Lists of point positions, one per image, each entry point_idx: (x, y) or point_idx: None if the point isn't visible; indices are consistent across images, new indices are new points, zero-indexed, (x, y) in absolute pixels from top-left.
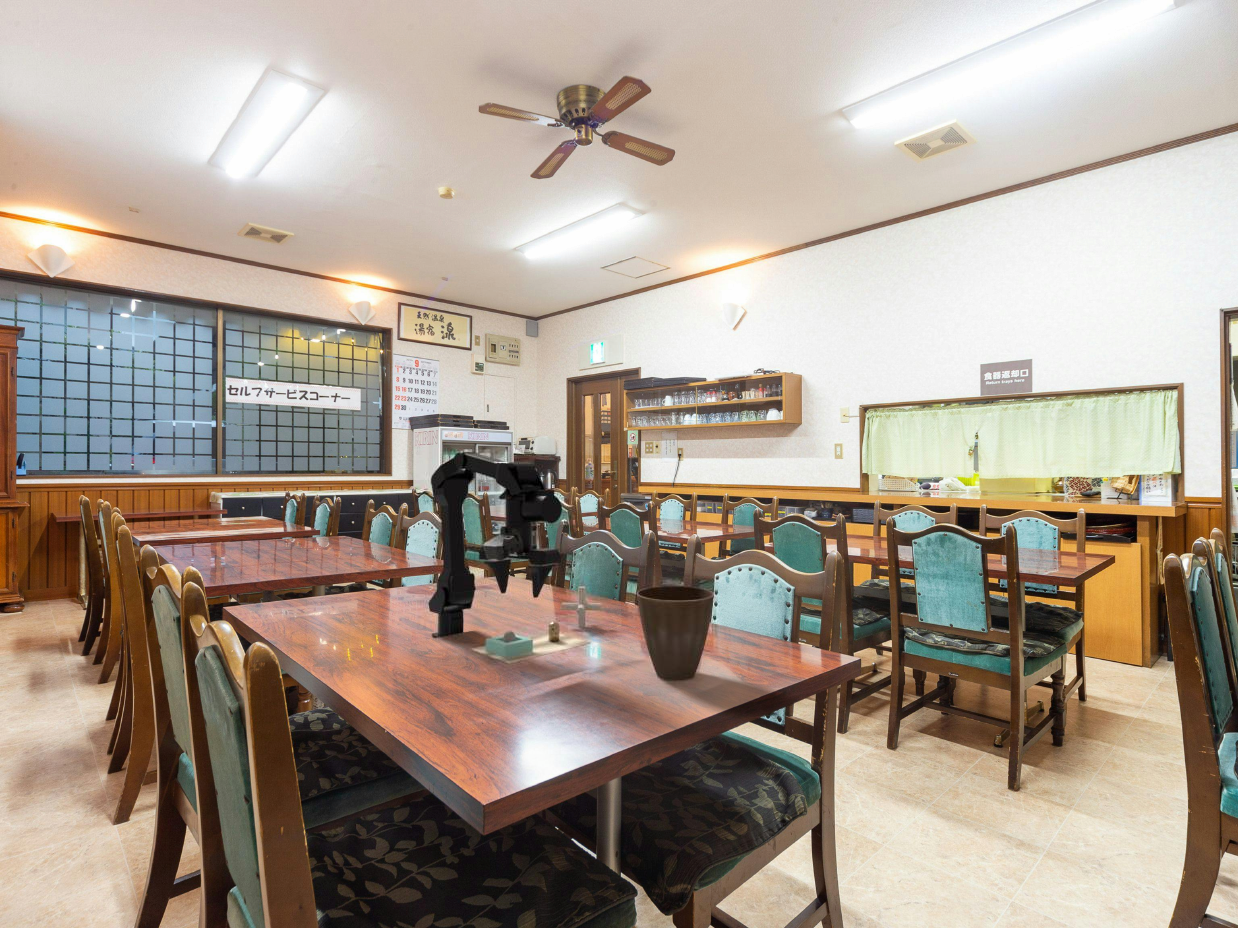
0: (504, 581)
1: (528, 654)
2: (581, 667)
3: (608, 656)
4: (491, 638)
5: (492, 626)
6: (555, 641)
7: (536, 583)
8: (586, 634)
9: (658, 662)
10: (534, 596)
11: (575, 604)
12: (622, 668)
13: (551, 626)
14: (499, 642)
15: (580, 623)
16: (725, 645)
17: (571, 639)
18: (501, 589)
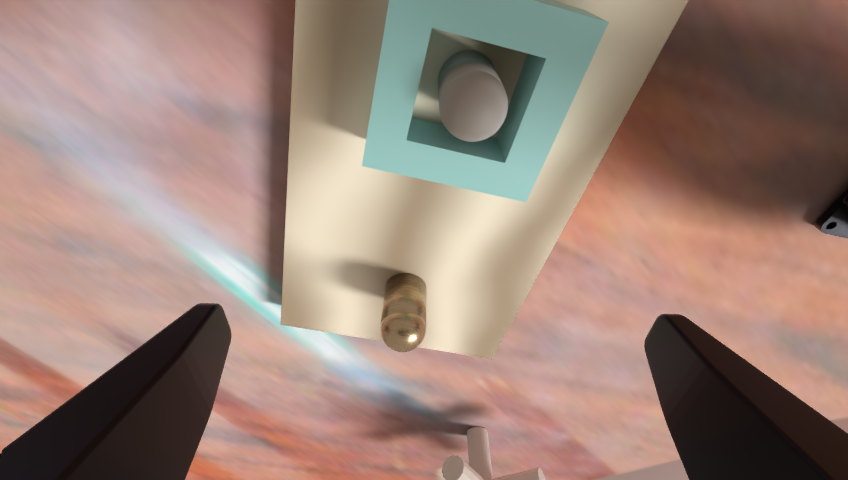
0: (718, 453)
1: (346, 88)
2: (131, 140)
3: (188, 281)
4: (579, 52)
5: (759, 345)
6: (388, 280)
7: (16, 446)
8: (417, 396)
9: None
10: (194, 309)
11: None
12: (31, 208)
13: (399, 319)
14: (478, 5)
15: (476, 438)
16: None
17: (365, 323)
18: (690, 340)
